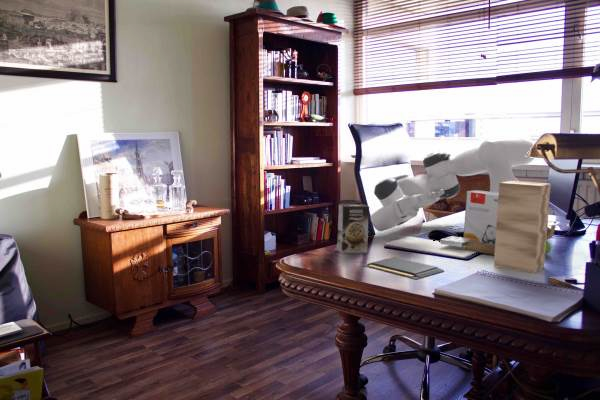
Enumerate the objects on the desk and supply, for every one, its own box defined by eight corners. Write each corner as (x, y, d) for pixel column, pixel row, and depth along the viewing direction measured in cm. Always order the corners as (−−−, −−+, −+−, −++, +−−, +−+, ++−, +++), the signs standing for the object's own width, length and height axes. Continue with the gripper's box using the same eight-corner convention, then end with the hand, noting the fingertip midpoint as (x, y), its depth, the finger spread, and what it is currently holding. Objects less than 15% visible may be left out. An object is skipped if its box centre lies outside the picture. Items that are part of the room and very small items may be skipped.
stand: (504, 260, 170) (510, 180, 167) (544, 266, 162) (550, 183, 159) (493, 265, 163) (499, 182, 159) (534, 273, 155) (541, 185, 151)
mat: (408, 237, 205) (408, 236, 205) (484, 249, 185) (484, 248, 185) (384, 244, 191) (384, 243, 191) (463, 258, 172) (463, 257, 172)
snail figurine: (550, 258, 174) (553, 222, 173) (530, 254, 179) (533, 220, 177) (555, 255, 178) (558, 220, 177) (536, 252, 183) (538, 218, 181)
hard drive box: (462, 244, 193) (465, 191, 191) (473, 242, 198) (476, 189, 196) (501, 252, 182) (505, 195, 179) (512, 249, 187) (516, 194, 184)
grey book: (446, 267, 155) (415, 275, 145) (446, 273, 155) (415, 282, 145) (393, 254, 170) (361, 261, 160) (393, 260, 170) (361, 267, 160)
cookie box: (341, 254, 175) (343, 206, 173) (336, 249, 181) (338, 203, 179) (367, 253, 176) (369, 206, 174) (361, 249, 183) (363, 203, 181)
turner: (509, 244, 178) (509, 253, 178) (451, 235, 192) (450, 243, 192) (500, 248, 171) (499, 257, 172) (440, 239, 185) (439, 247, 185)
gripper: (423, 212, 204) (453, 197, 195) (396, 218, 188) (428, 202, 180) (416, 197, 205) (446, 182, 197) (389, 202, 190) (420, 186, 181)
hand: (437, 192), depth 188 cm, fingers open, 8 cm apart
